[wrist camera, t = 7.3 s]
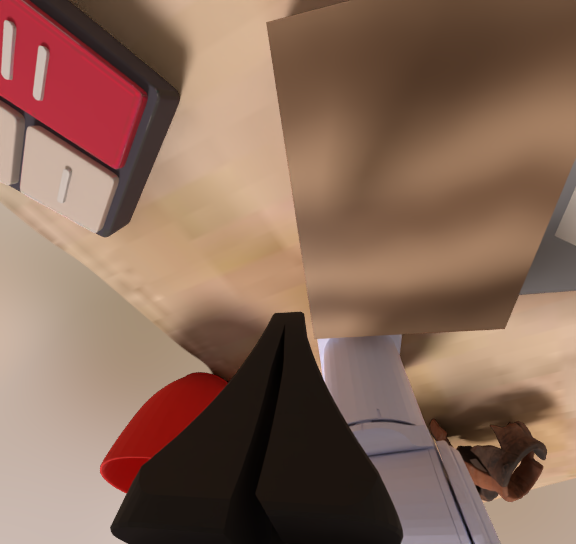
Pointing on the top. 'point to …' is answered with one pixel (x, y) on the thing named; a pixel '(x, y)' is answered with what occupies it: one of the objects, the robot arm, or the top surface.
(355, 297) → the block
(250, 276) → the top surface
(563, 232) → the tile
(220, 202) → the top surface
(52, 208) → the calculator
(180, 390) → the ceramic cup
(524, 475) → the pottery mug
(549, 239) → the mat
